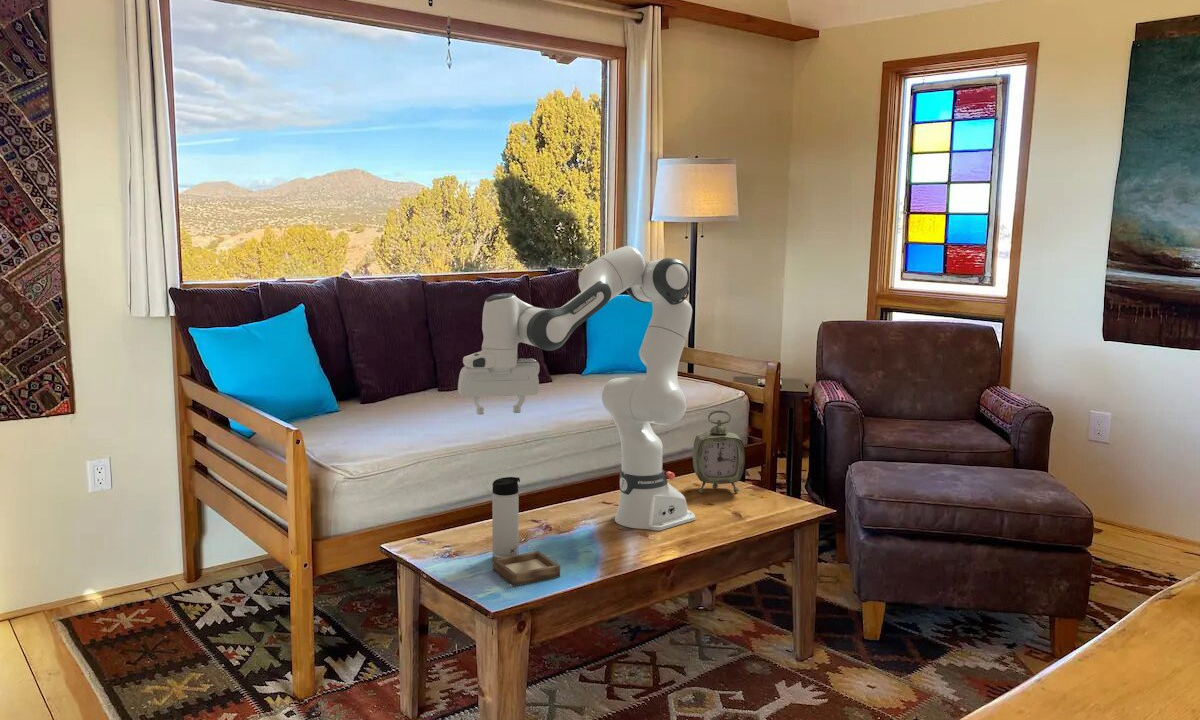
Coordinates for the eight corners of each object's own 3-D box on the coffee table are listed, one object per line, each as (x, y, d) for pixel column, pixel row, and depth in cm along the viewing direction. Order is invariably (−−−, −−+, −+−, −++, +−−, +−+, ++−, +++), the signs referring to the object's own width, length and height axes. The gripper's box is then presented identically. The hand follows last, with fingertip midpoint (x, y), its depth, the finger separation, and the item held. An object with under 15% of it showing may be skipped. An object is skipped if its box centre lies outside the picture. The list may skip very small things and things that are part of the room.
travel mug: (519, 562, 223) (519, 482, 219) (492, 563, 222) (491, 482, 219) (520, 553, 229) (520, 474, 226) (493, 553, 228) (492, 474, 225)
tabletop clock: (695, 495, 278) (698, 413, 274) (690, 486, 287) (692, 407, 283) (743, 494, 280) (746, 413, 276) (736, 485, 288) (739, 407, 285)
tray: (538, 561, 224) (538, 550, 223) (560, 576, 214) (560, 566, 214) (492, 570, 218) (492, 559, 217) (512, 586, 208) (512, 575, 208)
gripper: (536, 356, 238) (535, 409, 239) (456, 357, 231) (456, 412, 232) (543, 359, 232) (541, 414, 234) (462, 361, 225) (461, 417, 227)
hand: (498, 413), depth 233 cm, fingers open, 8 cm apart
